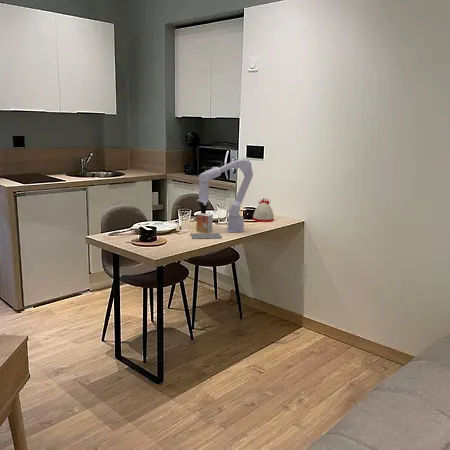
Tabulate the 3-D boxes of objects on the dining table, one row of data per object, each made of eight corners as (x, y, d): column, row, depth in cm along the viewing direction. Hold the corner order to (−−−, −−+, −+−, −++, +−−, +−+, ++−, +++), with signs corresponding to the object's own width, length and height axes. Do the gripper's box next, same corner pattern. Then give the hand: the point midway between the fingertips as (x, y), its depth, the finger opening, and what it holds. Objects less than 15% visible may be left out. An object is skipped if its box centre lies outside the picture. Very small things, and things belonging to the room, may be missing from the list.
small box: (196, 231, 284) (196, 214, 281) (200, 229, 289) (201, 212, 286) (207, 233, 280) (208, 216, 278) (212, 231, 285) (212, 214, 283)
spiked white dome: (271, 223, 312) (272, 200, 308) (250, 221, 315) (252, 198, 312) (275, 218, 325) (276, 197, 321) (255, 216, 328) (256, 195, 325)
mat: (219, 233, 280) (219, 233, 280) (222, 238, 270) (222, 237, 270) (190, 234, 277) (190, 233, 277) (192, 239, 267) (192, 238, 267)
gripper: (195, 190, 292) (195, 211, 295) (198, 194, 278) (198, 217, 281) (207, 190, 293) (206, 211, 296) (210, 194, 279) (209, 217, 282)
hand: (203, 214), depth 289 cm, fingers closed
